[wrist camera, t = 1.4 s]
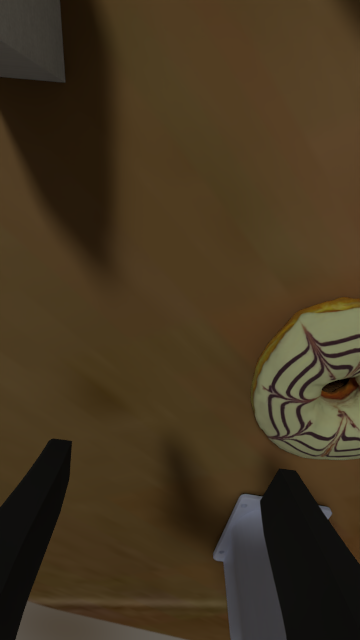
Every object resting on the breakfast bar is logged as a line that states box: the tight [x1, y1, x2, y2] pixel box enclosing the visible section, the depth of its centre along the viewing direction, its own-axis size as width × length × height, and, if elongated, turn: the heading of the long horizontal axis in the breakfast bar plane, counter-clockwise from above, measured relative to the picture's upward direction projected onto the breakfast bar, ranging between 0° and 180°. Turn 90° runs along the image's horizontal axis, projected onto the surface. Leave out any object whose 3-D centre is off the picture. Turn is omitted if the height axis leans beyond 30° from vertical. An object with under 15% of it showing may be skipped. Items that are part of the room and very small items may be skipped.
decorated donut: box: [251, 297, 360, 460], centre depth 19 cm, size 10×11×4 cm
